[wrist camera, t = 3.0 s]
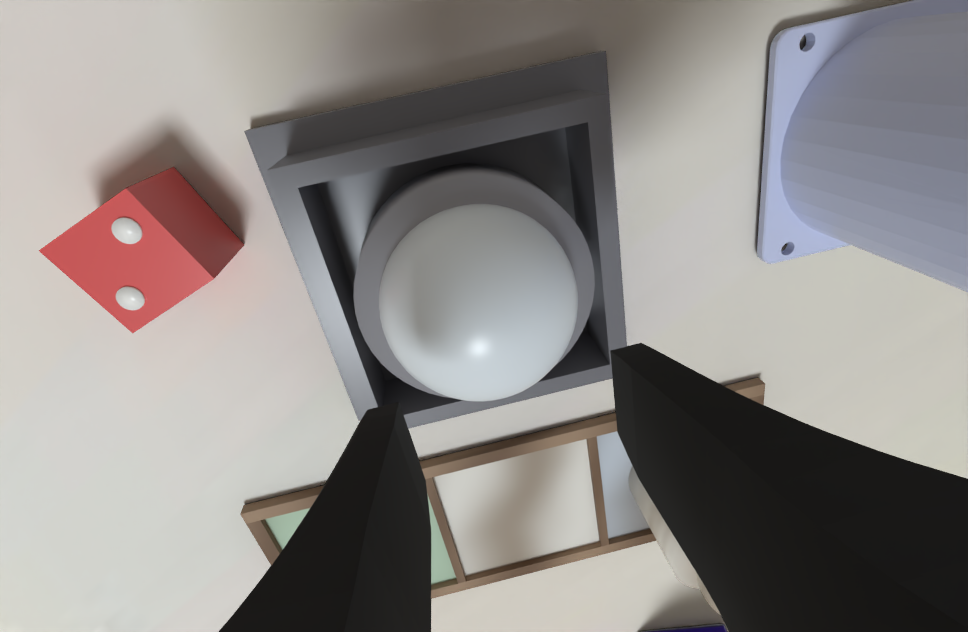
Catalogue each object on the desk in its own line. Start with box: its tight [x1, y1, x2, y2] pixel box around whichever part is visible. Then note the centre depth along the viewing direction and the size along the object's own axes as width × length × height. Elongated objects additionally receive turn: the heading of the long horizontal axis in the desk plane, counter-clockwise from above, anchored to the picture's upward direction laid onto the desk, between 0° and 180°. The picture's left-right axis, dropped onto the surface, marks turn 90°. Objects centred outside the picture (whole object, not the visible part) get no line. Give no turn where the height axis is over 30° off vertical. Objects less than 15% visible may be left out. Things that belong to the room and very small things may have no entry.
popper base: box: [244, 51, 627, 428], centre depth 17 cm, size 11×11×3 cm
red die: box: [39, 167, 244, 333], centre depth 15 cm, size 3×3×3 cm
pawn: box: [629, 466, 721, 615], centre depth 21 cm, size 4×4×7 cm
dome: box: [354, 163, 595, 401], centre depth 14 cm, size 7×7×6 cm
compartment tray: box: [241, 378, 765, 599], centre depth 24 cm, size 23×8×1 cm, turn 101°
